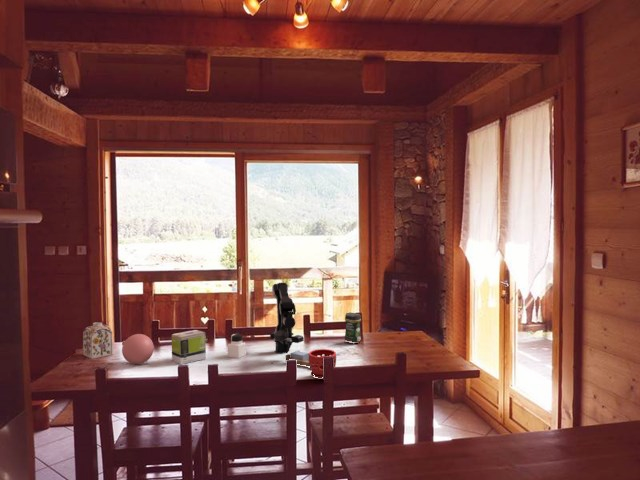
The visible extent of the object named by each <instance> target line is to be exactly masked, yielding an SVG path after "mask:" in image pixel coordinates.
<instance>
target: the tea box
mask: <svg viewBox="0 0 640 480" xmlns="http://www.w3.org/2000/svg"><path fill="white" fill-rule="evenodd" d="M206 347H207V345H206V332H205V331H201V330H198V329H193V330H188V331H183V332H182V331H181V332H178V333H173V334H171V361H172V362H174V363H177V364H179V365H184V364H189V363H193V362H197V361H201V360H206V359H207V358H206V357H207V354H206V353H207V350H206Z"/></svg>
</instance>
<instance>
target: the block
mask: <svg viewBox="0 0 640 480" xmlns="http://www.w3.org/2000/svg"><path fill="white" fill-rule="evenodd" d="M289 354H290V358H295V359H301V360H306V361H309V352H304V351H300V350H295V351H293V352H290V353H289Z"/></svg>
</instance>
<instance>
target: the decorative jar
mask: <svg viewBox="0 0 640 480" xmlns="http://www.w3.org/2000/svg"><path fill="white" fill-rule="evenodd" d="M82 334H83V335H82V354H83V356H84V357H87V358H89V359H90V360H95V359H99V358H104V357H109V356H113V351H114V350H113V345H114V344H113V330H112V328H111V327H110V326H109V325H107V324H103V322H93V323H92V325H89V326H86V327H85V329H84V330H83V331H82Z"/></svg>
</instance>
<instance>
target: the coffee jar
mask: <svg viewBox="0 0 640 480" xmlns="http://www.w3.org/2000/svg"><path fill="white" fill-rule="evenodd" d="M344 321H345V334H344V341H345V340H347V341H352V342H357V341H360V340H361V339H362V338H361V321H362V315H361V314H360V313H356V312H346V313H345V315H344ZM361 341H362V340H361Z"/></svg>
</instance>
